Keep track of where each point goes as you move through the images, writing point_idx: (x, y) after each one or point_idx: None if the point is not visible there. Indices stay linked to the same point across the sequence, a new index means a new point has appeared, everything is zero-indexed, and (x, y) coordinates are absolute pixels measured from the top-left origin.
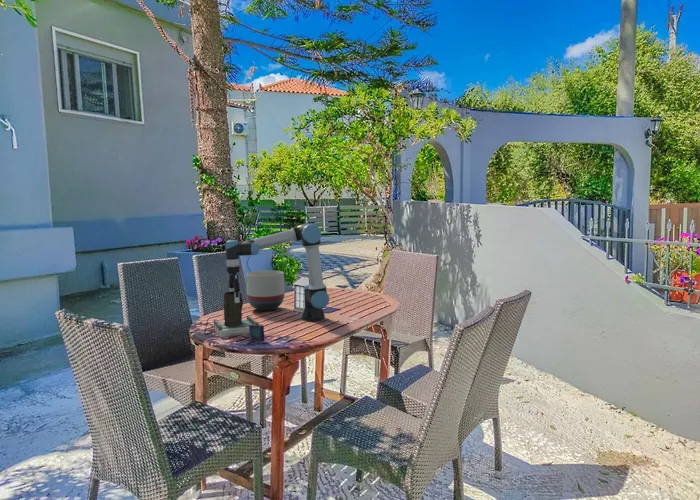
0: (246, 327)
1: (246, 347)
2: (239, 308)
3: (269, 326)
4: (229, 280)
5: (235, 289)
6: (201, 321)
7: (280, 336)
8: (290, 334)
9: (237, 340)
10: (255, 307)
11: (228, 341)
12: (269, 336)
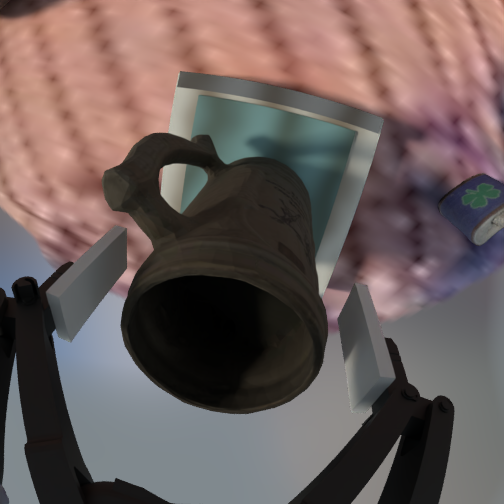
0: (365, 179)
1: (488, 268)
2: (302, 226)
3: (296, 2)
4: (4, 413)
5: (412, 446)
6: (37, 237)
7: (487, 89)
8: (485, 41)
9: (409, 253)
10: (3, 6)
11: (392, 284)
12: (461, 119)
